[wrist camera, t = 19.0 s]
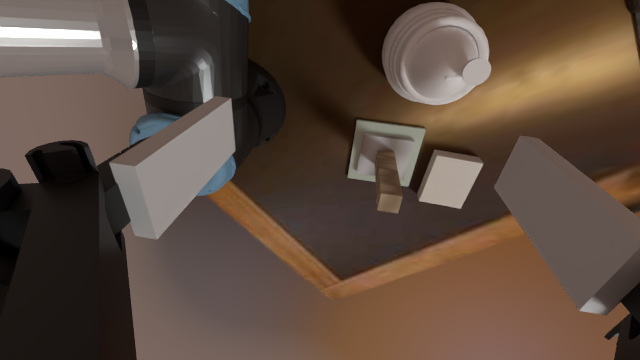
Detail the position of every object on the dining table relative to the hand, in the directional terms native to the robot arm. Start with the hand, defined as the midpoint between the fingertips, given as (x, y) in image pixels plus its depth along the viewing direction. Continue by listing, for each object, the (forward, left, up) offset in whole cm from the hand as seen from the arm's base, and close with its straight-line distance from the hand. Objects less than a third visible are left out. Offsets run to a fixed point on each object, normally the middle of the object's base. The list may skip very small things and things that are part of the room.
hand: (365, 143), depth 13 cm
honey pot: (+9, 0, -37) cm, 38 cm away
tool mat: (+6, -18, -37) cm, 41 cm away
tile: (+23, -21, -36) cm, 47 cm away
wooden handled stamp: (+6, -18, -36) cm, 41 cm away
